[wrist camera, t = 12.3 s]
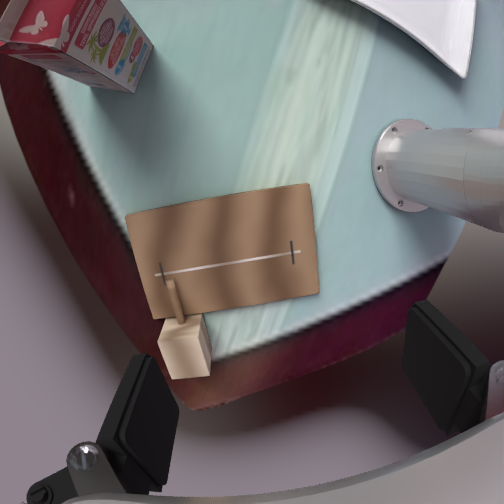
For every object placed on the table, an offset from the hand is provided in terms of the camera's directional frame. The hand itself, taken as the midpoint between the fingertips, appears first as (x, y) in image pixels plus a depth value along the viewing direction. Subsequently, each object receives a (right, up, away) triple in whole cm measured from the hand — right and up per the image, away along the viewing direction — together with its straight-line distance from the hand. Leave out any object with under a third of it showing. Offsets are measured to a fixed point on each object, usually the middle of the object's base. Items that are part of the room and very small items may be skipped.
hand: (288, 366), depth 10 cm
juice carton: (-17, +27, +18) cm, 37 cm away
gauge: (-10, -4, +29) cm, 31 cm away
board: (-5, +4, +27) cm, 27 cm away
